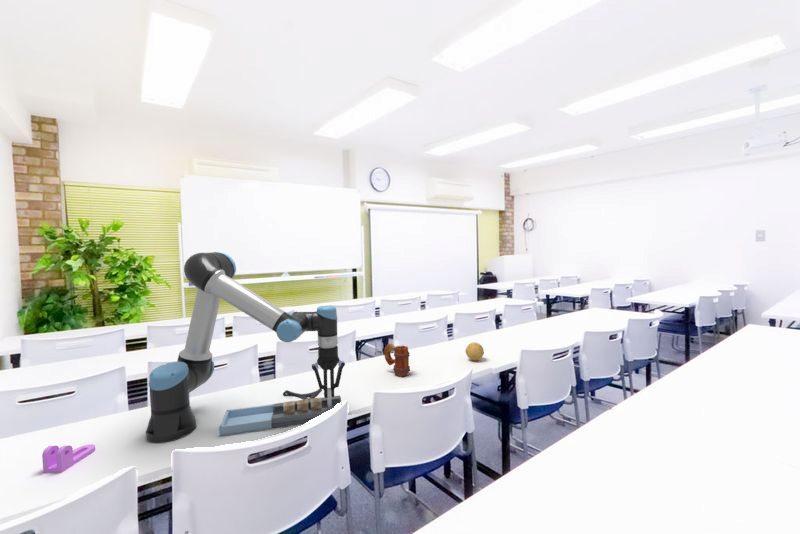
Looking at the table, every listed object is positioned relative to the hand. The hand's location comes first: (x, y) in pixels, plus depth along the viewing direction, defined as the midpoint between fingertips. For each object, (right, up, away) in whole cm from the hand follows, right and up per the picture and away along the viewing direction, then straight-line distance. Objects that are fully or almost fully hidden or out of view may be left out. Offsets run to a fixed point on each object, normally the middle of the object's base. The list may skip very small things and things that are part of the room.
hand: (329, 405), depth 142 cm
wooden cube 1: (-14, -2, -4) cm, 15 cm away
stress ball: (+70, +1, +62) cm, 93 cm away
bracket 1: (-74, -6, -29) cm, 80 cm away
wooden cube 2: (-10, -2, -3) cm, 10 cm away
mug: (+26, 0, +42) cm, 50 cm away
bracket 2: (-16, -3, +16) cm, 23 cm away
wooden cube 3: (-5, -1, -1) cm, 5 cm away
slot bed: (-8, -3, -2) cm, 9 cm away
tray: (-28, -4, -8) cm, 30 cm away
